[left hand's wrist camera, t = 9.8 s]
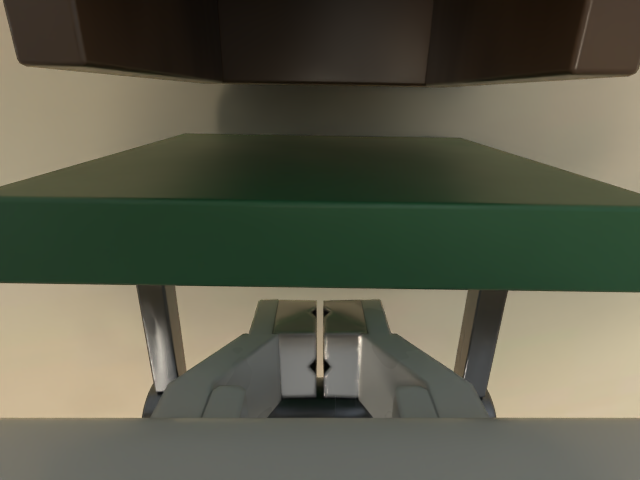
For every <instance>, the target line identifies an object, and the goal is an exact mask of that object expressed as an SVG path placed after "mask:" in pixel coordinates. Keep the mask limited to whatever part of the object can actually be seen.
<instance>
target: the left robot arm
mask: <svg viewBox="0 0 640 480" xmlns="http://www.w3.org/2000/svg"><path fill="white" fill-rule="evenodd" d="M316 379H317V300H278V299H271V300H260V301H259V302H258V305H257V308H256V312H255V315H254V318H253V322H252V325H251V328H250V332H249V334H242V335H241V336H239V337H238V338H236V339H235V340H233V341H232V342H230V343H229V344H227V345H226V346H224V347H223V348H221V349H220V350H218V351H217V352H215V353H214V354H212V355H211V356H209V357H208V358H206V359H205V360H203V361H202V362H200V363H199V364H197V365H196V366H194V367H193V368H191V369H190V370H188V371H187V372H185V373H184V374H182V375H181V376H179V377H178V378H176V379H175V380H173V381H172V382H170V383H169V384H168V385H167V387H166V389H165V390H164V392H163V394H162V396H161V398H160V400H159V402H158V404H157V405H156V407H155V409H154V411H153V413H152V415H151V417H150V418H0V480H640V418H490V417H489V415H488V413H487V411H486V409H485V407H484V405H483V403H482V402H481V400H480V398H479V396H478V394H477V392H476V390H475V388H474V386H473V385H472V384H471V383H470V382H468V381H467V380H465V379H464V378H462V377H461V376H459V375H458V374H456V373H455V372H453V371H452V370H450V369H449V368H447V367H446V366H444V365H443V364H441V363H440V362H438V361H437V360H435V359H434V358H432V357H431V356H429V355H428V354H426V353H425V352H423V351H422V350H420V349H419V348H417V347H416V346H414V345H413V344H411V343H410V342H408V341H407V340H405V339H404V338H402V337H401V336H399V335H398V334H391V332H390V328H389V325H388V322H387V319H386V315H385V312H384V309H383V305H382V302H381V300H379V299H373V300H330V301H323V379H324V397H329V398H359V401H360V402H361V403H362V405H363V406H364V407H365V408H366V409H367V411H368V412H369V413H370V414H371V416H372V417H373V418H267V417H268V416H269V415H270V413H271V412H272V411H273V410H274V409H275V407H276V406H277V405H278V404H279V402H280V401H281V398H310V397H316Z"/></svg>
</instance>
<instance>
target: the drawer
mask: <svg viewBox="0 0 640 480" xmlns="http://www.w3.org/2000/svg"><path fill="white" fill-rule="evenodd" d="M3 3H4V7H5V11H6V15H7V19H8V23H9V27H10V31H11V35H12V39H13V44H14V48H15V52H16V56H17V59H18V61H19V63H20V64H22V65H25V66H29V67H39V68H49V69H60V70H70V71H81V72H91V73H101V74H112V75H122V76H132V77H143V78H153V79H163V80H174V81H184V82H195V83H207V84H268V85H328V86H389V87H458V86H475V85H492V84H508V83H525V82H542V81H559V80H575V79H592V78H609V77H626V76H630V75H633V74H635V73H636V72H637V70H638V69H639V66H640V0H3ZM0 283H36V284H104V285H136V287H137V292H138V298H139V304H140V309H141V315H142V321H143V326H144V332H145V337H146V343H147V349H148V354H149V360H150V366H151V371H152V377H153V385H152V387H151V388H150V391H149V393H148V395H147V398H146V401H145V405H144V409H143V414H142V418H150V417H151V415H152V413H153V411H154V409H155V407H156V405H157V404H158V402H159V400H160V398H161V396H162V394H163V392H164V390H165V389H166V387H167V385H168V384H169V383H170V382H172V381H173V380H175V379H176V378H178V377H179V376H181V375H182V374H184V373H185V372H186V364H185V357H184V350H183V342H182V335H181V328H180V321H179V313H178V306H177V299H176V291H175V286H240V287H308V288H376V289H444V290H468V293H467V299H466V305H465V310H464V316H463V322H462V327H461V333H460V339H459V345H458V350H457V356H456V362H455V367H454V372H455V373H456V374H458V375H459V376H461V377H462V378H464V379H465V380H467V381H468V382H470V383H471V384H472V385H473V386H474V388H475V390H476V392H477V394H478V396H479V398H480V400H481V402H482V403H483V405H484V407H485V409H486V411H487V413H488V415H489V417H490V418H496V413H495V409H494V405H493V402H492V399H491V396H490V394H489V392H488V390H487V385H488V380H489V375H490V371H491V366H492V362H493V357H494V353H495V348H496V343H497V339H498V334H499V330H500V325H501V320H502V316H503V311H504V307H505V302H506V297H507V293H508V290H512V291H580V292H640V194H639V193H636V192H633V191H629V190H626V189H623V188H620V187H617V186H613V185H610V184H607V183H604V182H600V181H597V180H594V179H591V178H588V177H584V176H581V175H578V174H575V173H571V172H568V171H565V170H562V169H559V168H555V167H552V166H549V165H546V164H542V163H539V162H536V161H533V160H530V159H526V158H523V157H520V156H517V155H514V154H510V153H507V152H504V151H501V150H497V149H494V148H491V147H488V146H485V145H481V144H478V143H475V142H472V141H468V140H465V139H462V138H429V137H367V136H305V135H242V134H182V135H179V136H175V137H172V138H168V139H165V140H161V141H158V142H154V143H151V144H147V145H144V146H140V147H137V148H133V149H130V150H126V151H123V152H119V153H116V154H112V155H109V156H105V157H102V158H98V159H95V160H91V161H88V162H84V163H81V164H77V165H74V166H70V167H67V168H63V169H60V170H56V171H53V172H50V173H46V174H43V175H39V176H36V177H32V178H29V179H25V180H22V181H18V182H15V183H11V184H8V185H4V186H1V187H0ZM267 418H373V417H372V416H371V414H370V413H369V412H368V411H367V409H366V408H365V407H364V406H363V405H362V403H361V402H360V401H359V398H329V397H324V379H323V377H317V379H316V397H310V398H281V401H280V402H279V404H278V405H277V406H276V407H275V409H274V410H273V411H272V412H271V413H270V415H269V416H268V417H267Z"/></svg>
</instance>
